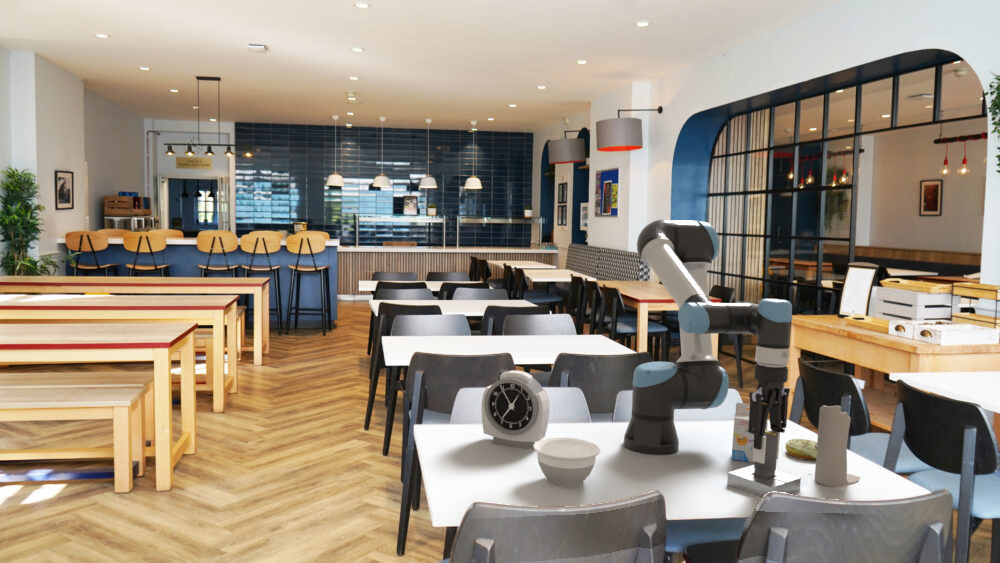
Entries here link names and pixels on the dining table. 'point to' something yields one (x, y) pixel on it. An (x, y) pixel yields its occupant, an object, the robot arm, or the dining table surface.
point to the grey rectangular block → (768, 457)
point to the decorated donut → (802, 448)
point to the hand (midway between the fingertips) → (765, 459)
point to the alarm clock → (515, 410)
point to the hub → (762, 482)
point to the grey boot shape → (833, 448)
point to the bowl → (566, 460)
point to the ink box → (742, 435)
